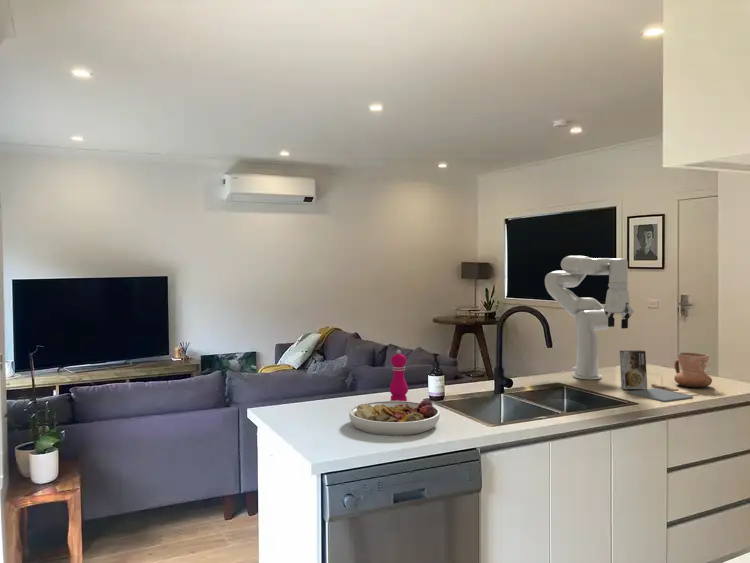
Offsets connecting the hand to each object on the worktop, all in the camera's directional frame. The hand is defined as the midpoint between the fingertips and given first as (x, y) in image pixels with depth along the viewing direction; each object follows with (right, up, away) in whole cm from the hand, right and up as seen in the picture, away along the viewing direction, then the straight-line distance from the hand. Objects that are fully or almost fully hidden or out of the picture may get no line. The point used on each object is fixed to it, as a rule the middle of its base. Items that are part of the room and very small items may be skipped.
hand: (617, 327), depth 262 cm
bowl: (-100, -28, -63) cm, 121 cm away
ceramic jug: (+32, -26, 0) cm, 41 cm away
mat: (+9, -26, -19) cm, 34 cm away
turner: (+19, -26, -11) cm, 34 cm away
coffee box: (+4, -26, -8) cm, 27 cm away
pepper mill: (-97, -27, -27) cm, 104 cm away
